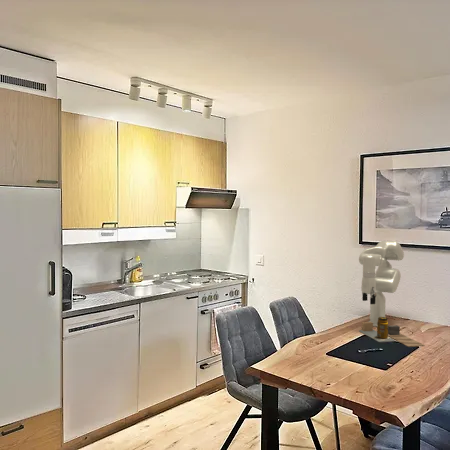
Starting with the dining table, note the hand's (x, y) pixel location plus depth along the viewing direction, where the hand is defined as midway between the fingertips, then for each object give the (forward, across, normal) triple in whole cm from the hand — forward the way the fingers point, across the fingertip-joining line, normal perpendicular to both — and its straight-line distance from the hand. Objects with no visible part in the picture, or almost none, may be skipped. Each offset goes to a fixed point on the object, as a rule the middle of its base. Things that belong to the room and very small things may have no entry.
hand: (368, 302), depth 277 cm
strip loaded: (+18, +10, -1) cm, 21 cm away
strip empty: (+18, +21, +11) cm, 30 cm away
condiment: (+18, +16, 0) cm, 24 cm away
